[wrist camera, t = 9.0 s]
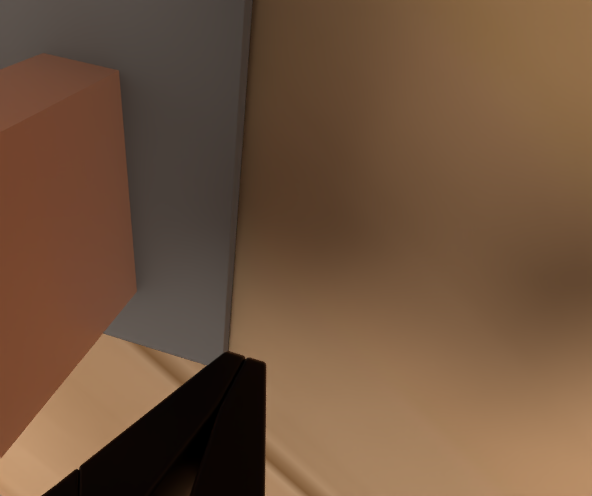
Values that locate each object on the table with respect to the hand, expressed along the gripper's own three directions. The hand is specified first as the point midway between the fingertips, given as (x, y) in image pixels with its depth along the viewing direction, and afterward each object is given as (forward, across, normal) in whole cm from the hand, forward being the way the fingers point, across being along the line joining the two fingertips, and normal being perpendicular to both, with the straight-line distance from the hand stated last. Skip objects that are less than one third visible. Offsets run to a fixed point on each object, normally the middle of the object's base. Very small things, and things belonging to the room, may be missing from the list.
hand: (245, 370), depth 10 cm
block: (+4, +6, 0) cm, 7 cm away
